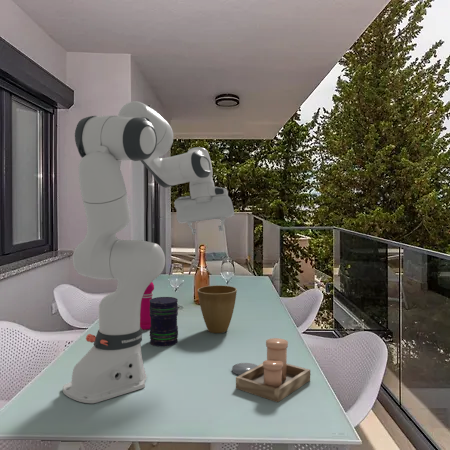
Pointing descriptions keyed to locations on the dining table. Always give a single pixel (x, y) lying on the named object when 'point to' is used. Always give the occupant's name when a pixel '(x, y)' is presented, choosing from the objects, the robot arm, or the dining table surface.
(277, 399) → the wooden tray
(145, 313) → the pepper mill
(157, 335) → the storage jar
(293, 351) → the dining table surface
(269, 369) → the small pot
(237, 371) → the grey disc
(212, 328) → the plant pot
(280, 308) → the dining table surface
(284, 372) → the tall pot
